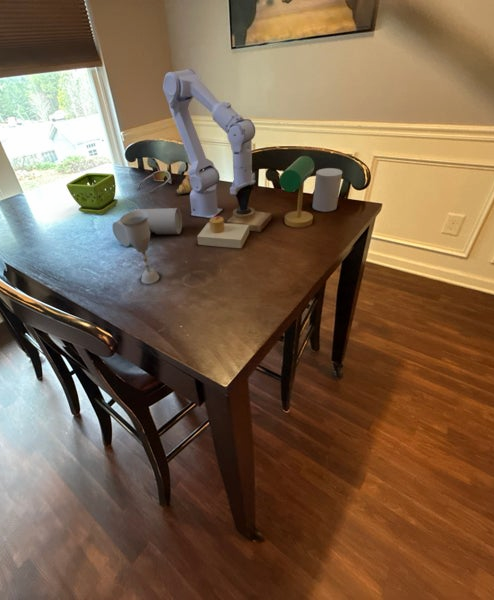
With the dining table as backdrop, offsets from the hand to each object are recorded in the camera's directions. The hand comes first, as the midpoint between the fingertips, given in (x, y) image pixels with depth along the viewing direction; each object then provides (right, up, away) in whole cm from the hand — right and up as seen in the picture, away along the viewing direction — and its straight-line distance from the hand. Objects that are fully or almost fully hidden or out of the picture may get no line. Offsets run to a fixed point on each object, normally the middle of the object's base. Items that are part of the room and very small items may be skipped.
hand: (243, 207), depth 104 cm
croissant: (-18, +19, +35) cm, 44 cm away
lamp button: (0, -1, +1) cm, 2 cm away
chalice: (-28, -25, -18) cm, 42 cm away
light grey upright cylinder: (+29, +2, +6) cm, 30 cm away
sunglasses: (-36, +23, +43) cm, 61 cm away
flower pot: (-57, +7, +27) cm, 64 cm away
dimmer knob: (-9, -9, -6) cm, 14 cm away
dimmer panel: (-7, -11, -5) cm, 14 cm away
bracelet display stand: (+18, -5, 0) cm, 19 cm away
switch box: (+2, -5, +2) cm, 6 cm away
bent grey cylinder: (-30, -9, +2) cm, 32 cm away
